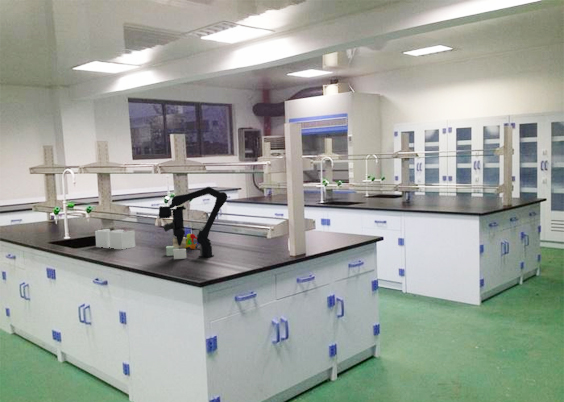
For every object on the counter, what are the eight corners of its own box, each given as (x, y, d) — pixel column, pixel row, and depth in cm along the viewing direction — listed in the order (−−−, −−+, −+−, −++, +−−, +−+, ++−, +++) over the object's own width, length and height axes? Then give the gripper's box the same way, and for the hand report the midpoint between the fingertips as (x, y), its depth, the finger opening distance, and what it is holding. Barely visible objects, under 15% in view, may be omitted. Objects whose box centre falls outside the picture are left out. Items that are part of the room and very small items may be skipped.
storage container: (96, 247, 328) (95, 230, 327) (109, 244, 337) (108, 228, 336) (122, 249, 315) (121, 232, 314) (135, 246, 324) (134, 230, 323)
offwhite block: (186, 257, 284) (185, 248, 284) (186, 258, 280) (186, 249, 280) (173, 258, 282) (173, 249, 282) (173, 259, 279) (173, 250, 278)
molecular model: (197, 252, 320) (206, 240, 310) (185, 257, 313) (194, 245, 303) (188, 238, 322) (196, 226, 312) (176, 243, 315) (184, 231, 305)
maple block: (185, 245, 283) (185, 237, 283) (185, 246, 280) (185, 238, 279) (173, 246, 282) (172, 238, 281) (173, 247, 278) (172, 239, 278)
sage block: (178, 253, 295) (178, 245, 294) (178, 255, 291) (178, 246, 290) (166, 254, 293) (166, 246, 293) (166, 256, 289) (166, 247, 289)
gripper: (163, 216, 287) (165, 243, 288) (163, 220, 268) (164, 248, 270) (183, 215, 289) (184, 242, 290) (184, 219, 271) (185, 247, 272)
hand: (179, 245), depth 281 cm, fingers closed on maple block, 4 cm apart
